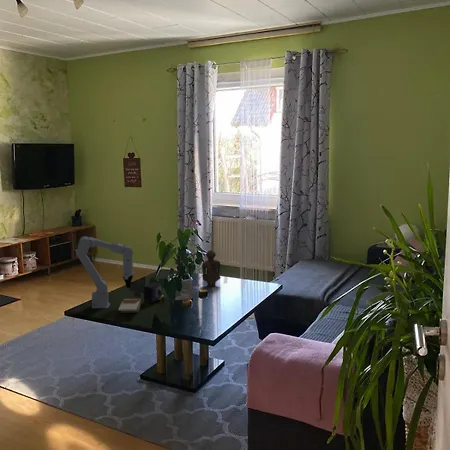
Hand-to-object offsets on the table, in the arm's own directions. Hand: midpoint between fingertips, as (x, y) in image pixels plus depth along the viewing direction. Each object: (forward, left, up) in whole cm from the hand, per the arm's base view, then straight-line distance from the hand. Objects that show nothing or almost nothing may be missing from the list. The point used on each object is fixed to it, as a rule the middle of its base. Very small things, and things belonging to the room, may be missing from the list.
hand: (128, 287), depth 294 cm
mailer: (+3, -9, -10) cm, 14 cm away
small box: (+14, +5, -11) cm, 19 cm away
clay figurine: (+51, +35, -11) cm, 63 cm away
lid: (+3, -17, -6) cm, 18 cm away
